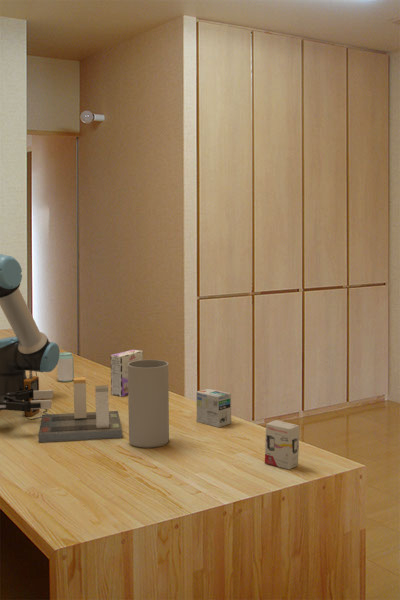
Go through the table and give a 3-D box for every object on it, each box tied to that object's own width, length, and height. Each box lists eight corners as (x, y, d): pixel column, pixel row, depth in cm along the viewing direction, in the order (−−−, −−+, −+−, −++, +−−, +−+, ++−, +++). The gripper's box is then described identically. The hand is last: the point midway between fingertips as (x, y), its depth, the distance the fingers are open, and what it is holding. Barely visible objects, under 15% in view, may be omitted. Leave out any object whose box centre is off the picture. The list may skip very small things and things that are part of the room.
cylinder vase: (138, 451, 210) (137, 369, 207) (123, 439, 221) (121, 362, 218) (175, 444, 215) (175, 365, 213) (159, 433, 226) (158, 358, 224)
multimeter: (46, 420, 242) (44, 364, 240) (19, 419, 244) (17, 363, 242) (62, 409, 256) (61, 356, 254) (37, 408, 258) (35, 355, 256)
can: (55, 382, 300) (54, 354, 298) (60, 378, 307) (60, 351, 305) (70, 382, 298) (70, 355, 297) (76, 379, 305) (75, 352, 304)
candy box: (133, 388, 289) (132, 348, 287) (144, 390, 285) (143, 350, 283) (110, 394, 277) (109, 354, 276) (121, 397, 274) (120, 355, 272)
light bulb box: (232, 423, 238) (232, 392, 236) (218, 428, 233) (218, 396, 232) (208, 417, 245) (208, 387, 244) (195, 421, 240) (195, 391, 239)
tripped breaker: (74, 415, 238) (73, 377, 237) (86, 414, 239) (85, 377, 237) (74, 418, 234) (73, 380, 233) (86, 418, 235) (85, 379, 234)
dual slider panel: (42, 421, 241) (41, 377, 239) (118, 417, 245) (117, 374, 243) (38, 442, 218) (37, 393, 216) (122, 437, 223) (121, 389, 221)
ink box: (263, 463, 199) (264, 423, 197) (273, 459, 202) (274, 419, 201) (289, 470, 193) (290, 429, 192) (299, 465, 197) (300, 425, 195)
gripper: (-20, 400, 218) (50, 397, 222) (-10, 382, 242) (53, 379, 246) (-19, 423, 219) (50, 420, 222) (-9, 403, 243) (53, 400, 247)
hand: (52, 398), depth 234 cm, fingers open, 13 cm apart
